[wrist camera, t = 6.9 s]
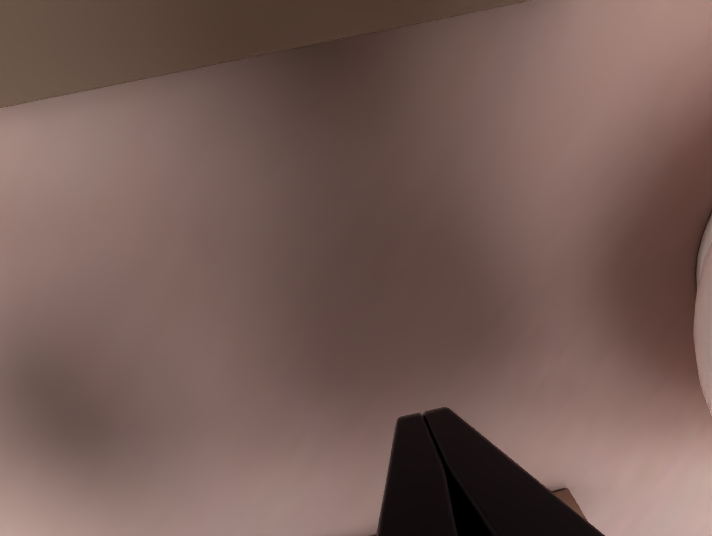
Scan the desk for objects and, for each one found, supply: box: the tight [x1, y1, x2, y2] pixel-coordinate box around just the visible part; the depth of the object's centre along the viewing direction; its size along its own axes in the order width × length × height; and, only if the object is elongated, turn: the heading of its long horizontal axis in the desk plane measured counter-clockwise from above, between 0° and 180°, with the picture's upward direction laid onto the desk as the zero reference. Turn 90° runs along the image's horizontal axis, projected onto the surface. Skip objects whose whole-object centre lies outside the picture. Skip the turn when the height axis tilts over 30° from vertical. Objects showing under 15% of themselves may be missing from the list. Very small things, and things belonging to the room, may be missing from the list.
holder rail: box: [0, 0, 587, 521], centre depth 10 cm, size 15×12×3 cm
